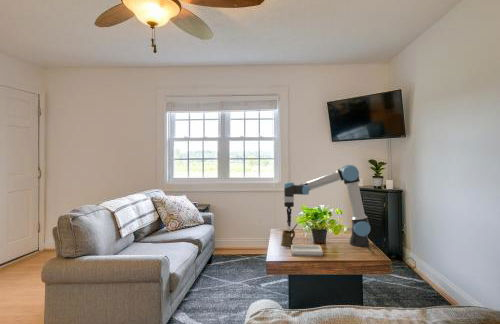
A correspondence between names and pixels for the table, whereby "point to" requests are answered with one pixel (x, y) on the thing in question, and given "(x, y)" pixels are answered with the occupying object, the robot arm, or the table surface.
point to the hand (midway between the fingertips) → (289, 228)
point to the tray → (306, 250)
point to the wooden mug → (288, 237)
